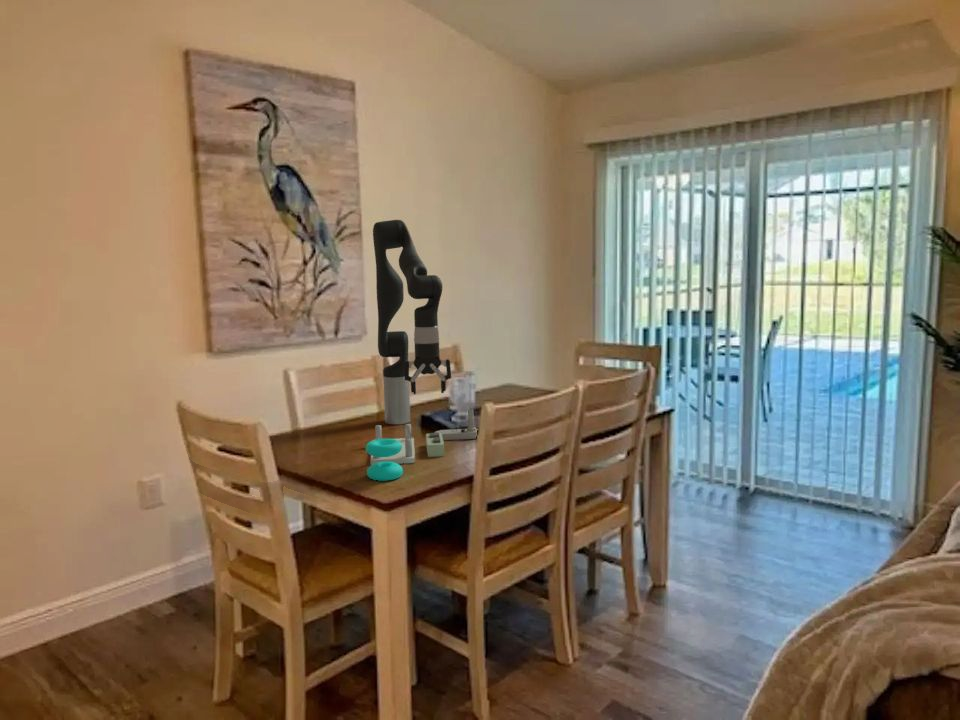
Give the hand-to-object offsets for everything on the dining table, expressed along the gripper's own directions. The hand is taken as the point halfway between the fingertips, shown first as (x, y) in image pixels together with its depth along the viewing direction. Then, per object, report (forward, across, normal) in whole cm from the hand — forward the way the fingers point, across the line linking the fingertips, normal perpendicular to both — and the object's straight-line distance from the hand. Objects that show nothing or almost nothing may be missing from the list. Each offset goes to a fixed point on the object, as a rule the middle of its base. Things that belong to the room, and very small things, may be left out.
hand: (428, 393), depth 231 cm
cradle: (+18, +12, 0) cm, 22 cm away
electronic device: (+19, -9, -16) cm, 26 cm away
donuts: (+19, +13, +24) cm, 33 cm away
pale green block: (+19, -1, -1) cm, 19 cm away
